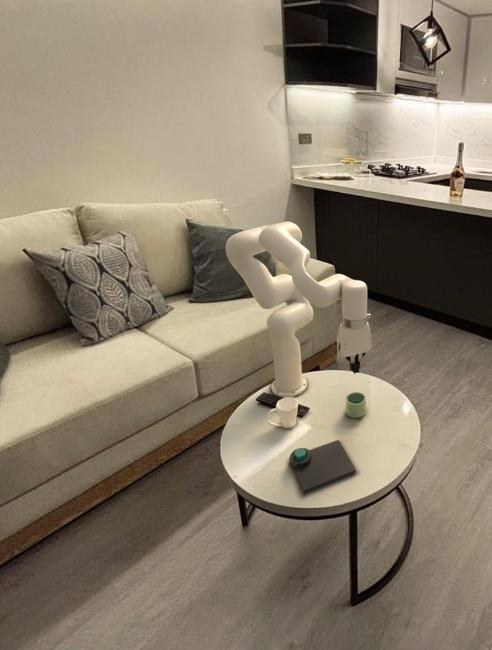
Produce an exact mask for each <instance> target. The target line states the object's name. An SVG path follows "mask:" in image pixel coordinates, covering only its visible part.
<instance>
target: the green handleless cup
mask: <svg viewBox="0 0 492 650" xmlns="http://www.w3.org/2000/svg"><path fill="white" fill-rule="evenodd" d="M366 413H367V396H366V395H365V394H364V393H362V392H359V391H353V392H350V393H348V394H347V395H346V396H345V414H346V415H347V416H349V417H350V418H352V419H359V418H362V417H363V416H364V415H365V414H366Z"/></svg>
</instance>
